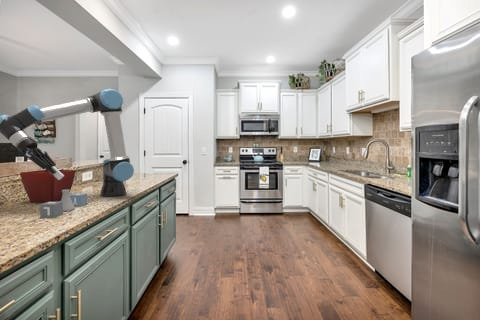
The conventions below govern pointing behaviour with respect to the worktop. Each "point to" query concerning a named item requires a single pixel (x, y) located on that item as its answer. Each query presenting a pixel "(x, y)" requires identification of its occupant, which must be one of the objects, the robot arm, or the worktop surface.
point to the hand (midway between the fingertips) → (61, 177)
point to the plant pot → (46, 185)
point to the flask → (67, 201)
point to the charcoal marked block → (51, 209)
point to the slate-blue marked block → (79, 199)
